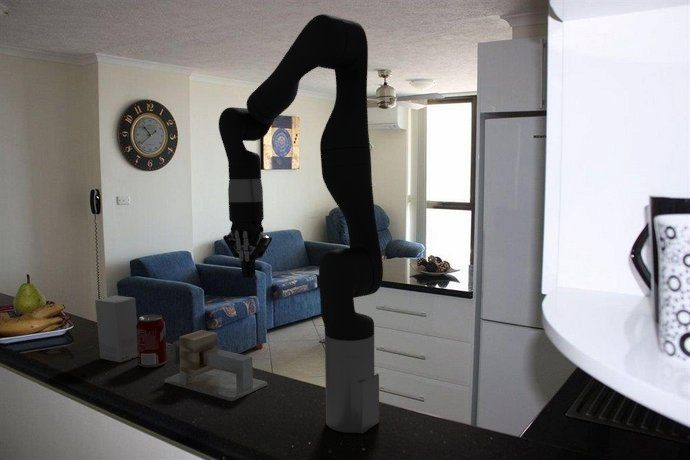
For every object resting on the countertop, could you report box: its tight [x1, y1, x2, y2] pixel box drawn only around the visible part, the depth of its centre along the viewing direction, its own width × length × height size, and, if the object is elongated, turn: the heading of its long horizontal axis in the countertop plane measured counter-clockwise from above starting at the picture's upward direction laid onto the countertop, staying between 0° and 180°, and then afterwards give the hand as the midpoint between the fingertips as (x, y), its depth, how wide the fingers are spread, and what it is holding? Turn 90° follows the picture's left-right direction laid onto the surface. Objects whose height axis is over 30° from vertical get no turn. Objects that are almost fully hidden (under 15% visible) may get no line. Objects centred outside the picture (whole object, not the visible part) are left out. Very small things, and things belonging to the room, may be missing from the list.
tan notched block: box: [178, 329, 219, 376], centre depth 136 cm, size 5×7×8 cm
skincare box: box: [94, 294, 138, 364], centre depth 152 cm, size 8×7×16 cm
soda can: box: [136, 314, 168, 369], centre depth 147 cm, size 7×7×12 cm
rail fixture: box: [164, 340, 268, 402], centre depth 134 cm, size 21×11×8 cm, turn 56°
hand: (248, 277), depth 133 cm, fingers closed
